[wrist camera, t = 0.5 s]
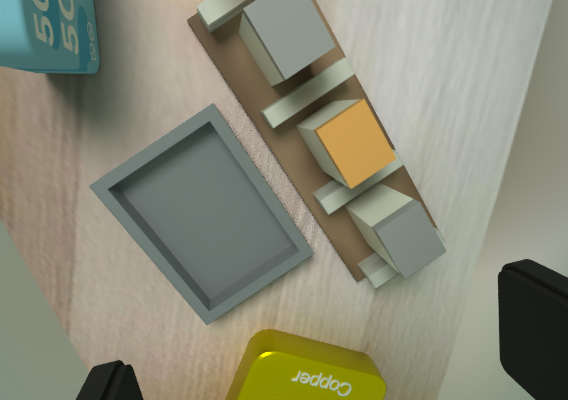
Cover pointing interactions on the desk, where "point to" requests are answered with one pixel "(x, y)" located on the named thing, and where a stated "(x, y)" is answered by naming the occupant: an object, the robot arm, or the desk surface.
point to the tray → (204, 215)
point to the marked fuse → (346, 141)
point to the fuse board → (286, 138)
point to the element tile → (303, 371)
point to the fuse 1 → (284, 36)
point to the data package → (49, 36)
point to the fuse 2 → (396, 228)
